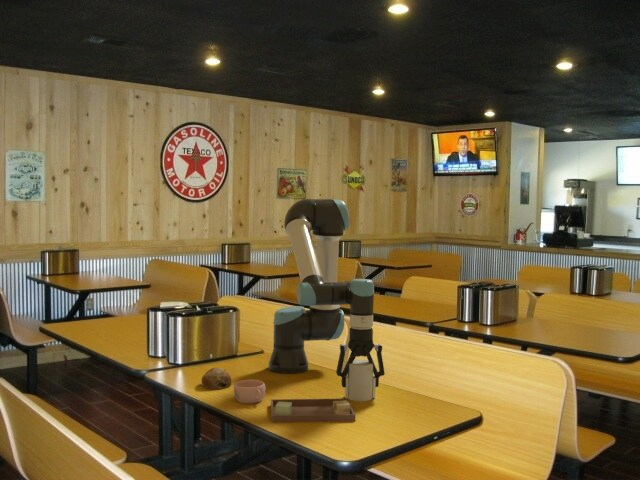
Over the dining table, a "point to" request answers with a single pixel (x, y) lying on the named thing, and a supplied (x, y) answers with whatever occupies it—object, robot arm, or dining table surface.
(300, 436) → the dining table surface
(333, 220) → the robot arm
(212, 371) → the bread roll
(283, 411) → the sage block
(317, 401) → the tray
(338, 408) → the maple block
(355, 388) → the cup
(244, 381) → the mug
